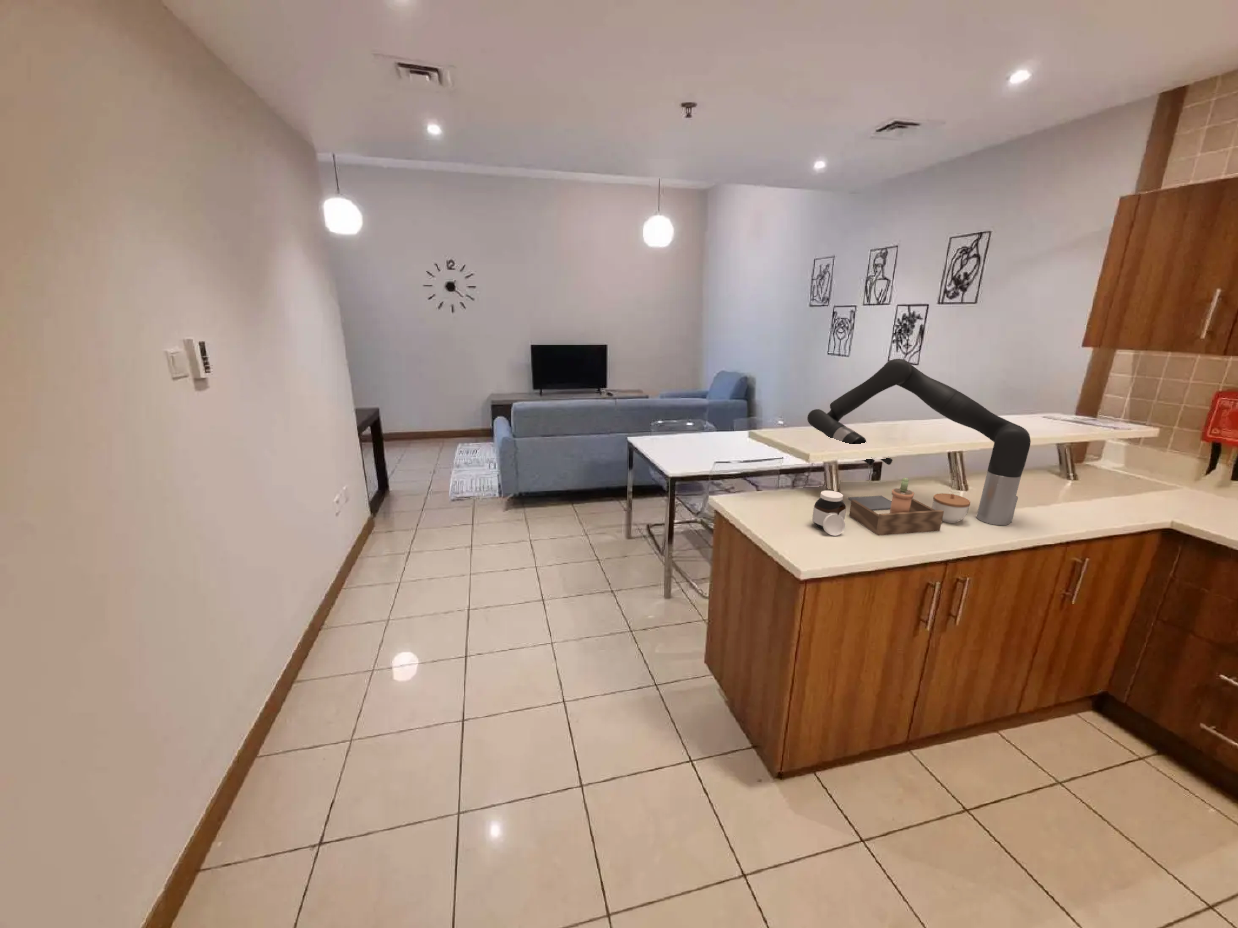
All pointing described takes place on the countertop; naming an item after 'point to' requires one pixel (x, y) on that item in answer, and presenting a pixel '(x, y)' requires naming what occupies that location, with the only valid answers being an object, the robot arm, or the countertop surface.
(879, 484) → the countertop surface
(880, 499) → the rubber mat
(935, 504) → the lidded jar
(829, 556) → the countertop surface
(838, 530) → the spread jar
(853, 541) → the countertop surface
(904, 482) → the terracotta pot
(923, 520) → the open wooden tray
